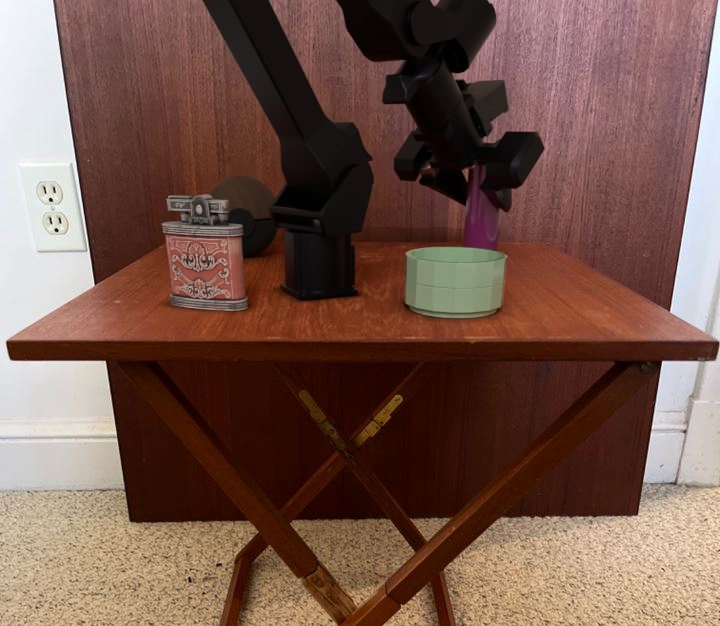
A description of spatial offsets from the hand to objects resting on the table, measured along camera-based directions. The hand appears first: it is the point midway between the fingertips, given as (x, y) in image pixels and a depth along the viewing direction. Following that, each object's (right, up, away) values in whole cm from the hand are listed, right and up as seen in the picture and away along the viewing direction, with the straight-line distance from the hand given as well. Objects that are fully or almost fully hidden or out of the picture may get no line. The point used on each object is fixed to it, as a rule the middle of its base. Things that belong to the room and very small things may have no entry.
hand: (490, 207), depth 88 cm
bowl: (-8, -18, -21) cm, 28 cm away
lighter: (-31, -18, -20) cm, 41 cm away
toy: (-32, -5, +5) cm, 33 cm away
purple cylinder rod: (-1, -6, +2) cm, 7 cm away
